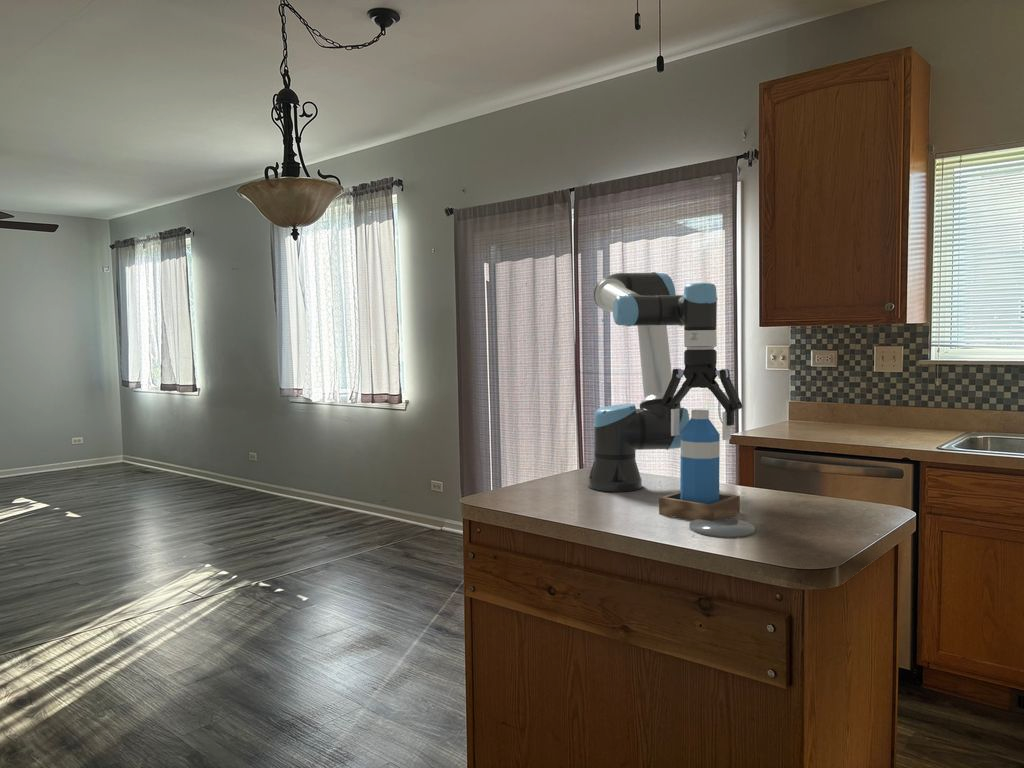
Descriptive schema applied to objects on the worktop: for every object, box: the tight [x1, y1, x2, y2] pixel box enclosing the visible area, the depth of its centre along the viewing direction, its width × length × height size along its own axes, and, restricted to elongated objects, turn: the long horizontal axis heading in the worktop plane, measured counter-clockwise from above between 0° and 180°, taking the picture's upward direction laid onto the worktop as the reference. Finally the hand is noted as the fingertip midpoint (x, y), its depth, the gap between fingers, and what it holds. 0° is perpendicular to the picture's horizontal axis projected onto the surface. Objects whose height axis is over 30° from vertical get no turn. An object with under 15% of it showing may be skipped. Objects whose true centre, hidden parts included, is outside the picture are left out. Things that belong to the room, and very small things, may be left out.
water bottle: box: [679, 409, 721, 504], centre depth 176 cm, size 9×9×25 cm
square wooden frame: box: [658, 490, 741, 521], centre depth 177 cm, size 14×14×4 cm
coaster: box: [688, 517, 756, 539], centre depth 162 cm, size 14×14×1 cm
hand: (700, 437), depth 175 cm, fingers open, 13 cm apart
